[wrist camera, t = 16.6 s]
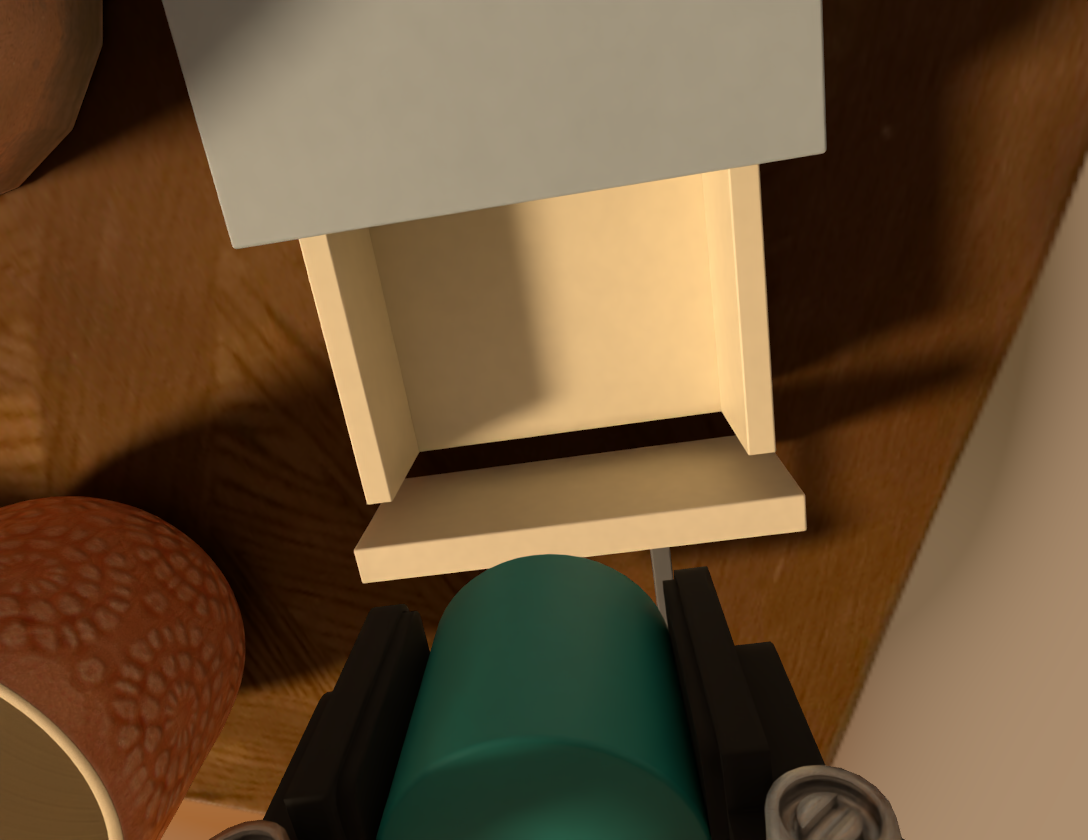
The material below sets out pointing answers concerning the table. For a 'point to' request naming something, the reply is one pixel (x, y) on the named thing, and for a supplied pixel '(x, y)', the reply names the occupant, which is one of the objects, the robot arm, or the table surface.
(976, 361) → the table surface
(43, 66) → the pottery
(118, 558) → the planter
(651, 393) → the drawer
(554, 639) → the cylinder
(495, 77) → the grey cabinet
